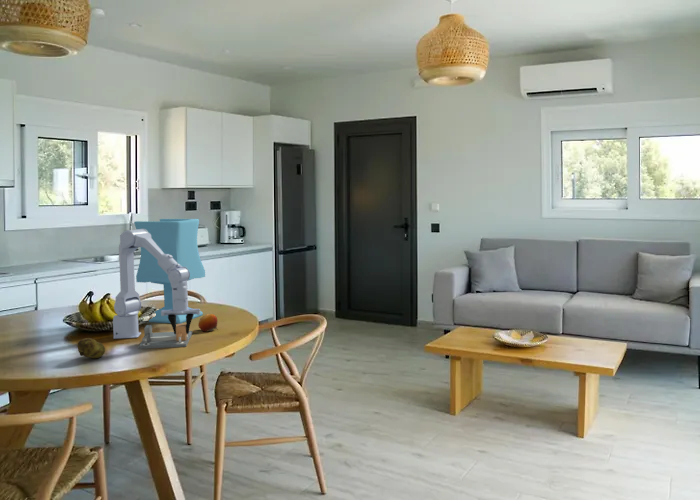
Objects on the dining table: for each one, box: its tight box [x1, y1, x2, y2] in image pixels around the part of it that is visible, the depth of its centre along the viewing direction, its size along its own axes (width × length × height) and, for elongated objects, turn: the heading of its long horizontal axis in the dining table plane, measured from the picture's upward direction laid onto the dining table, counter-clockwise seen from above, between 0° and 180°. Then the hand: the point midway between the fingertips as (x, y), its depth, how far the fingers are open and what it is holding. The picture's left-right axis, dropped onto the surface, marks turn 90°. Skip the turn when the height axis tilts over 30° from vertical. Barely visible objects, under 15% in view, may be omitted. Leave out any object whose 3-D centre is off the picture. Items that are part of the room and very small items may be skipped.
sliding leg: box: [176, 323, 187, 342], centre depth 253 cm, size 4×9×6 cm, turn 7°
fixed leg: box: [143, 324, 153, 344], centre depth 252 cm, size 2×9×6 cm, turn 7°
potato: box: [76, 337, 106, 359], centre depth 233 cm, size 8×13×8 cm, turn 157°
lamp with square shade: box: [133, 218, 206, 325], centre depth 299 cm, size 22×22×45 cm
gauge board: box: [137, 330, 193, 350], centre depth 258 cm, size 18×22×2 cm
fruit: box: [198, 313, 219, 332], centre depth 275 cm, size 8×8×8 cm
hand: (181, 333), depth 256 cm, fingers open, 4 cm apart
